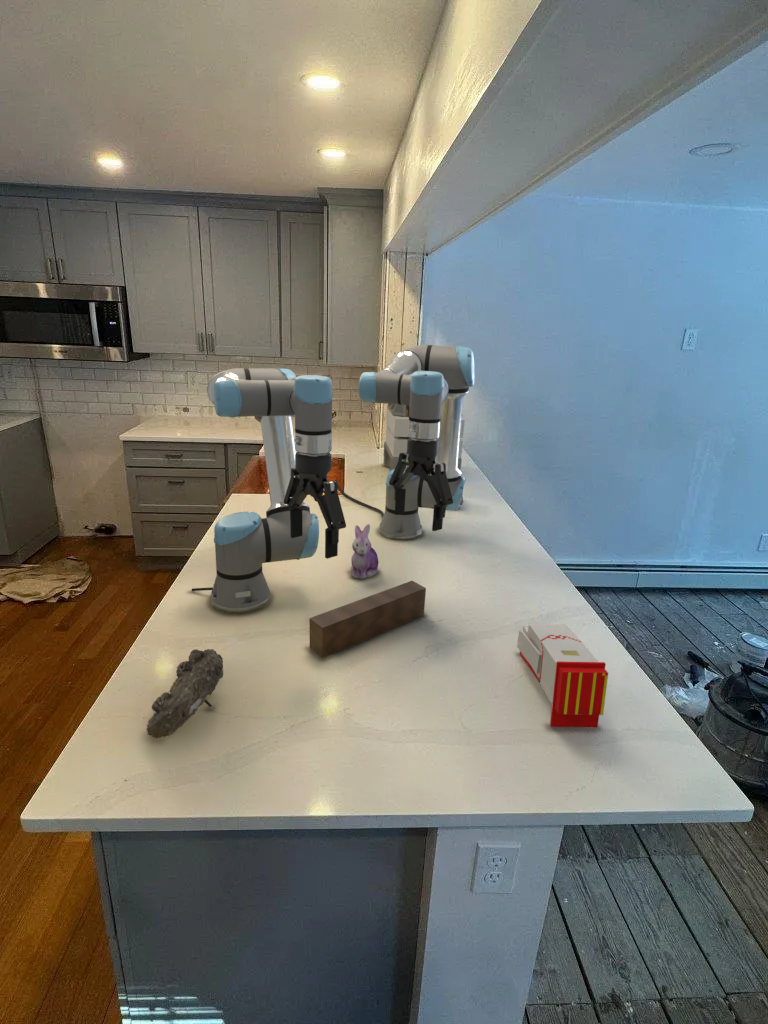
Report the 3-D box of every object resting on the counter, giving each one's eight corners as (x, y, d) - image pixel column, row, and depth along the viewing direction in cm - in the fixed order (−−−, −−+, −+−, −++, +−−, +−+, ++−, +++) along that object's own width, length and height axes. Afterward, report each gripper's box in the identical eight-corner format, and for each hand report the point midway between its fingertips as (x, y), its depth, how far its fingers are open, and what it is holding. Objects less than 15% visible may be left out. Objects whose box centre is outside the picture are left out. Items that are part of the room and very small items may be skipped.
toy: (562, 608, 134) (617, 669, 105) (557, 660, 137) (609, 734, 107) (511, 607, 134) (552, 667, 104) (507, 659, 136) (545, 733, 107)
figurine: (357, 582, 163) (358, 534, 158) (342, 568, 171) (343, 521, 166) (386, 576, 167) (388, 529, 162) (370, 563, 176) (372, 517, 171)
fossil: (175, 650, 120) (224, 619, 115) (206, 680, 123) (256, 650, 118) (122, 731, 101) (179, 697, 96) (161, 764, 104) (219, 733, 99)
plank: (322, 658, 127) (322, 627, 125) (309, 648, 131) (309, 618, 128) (423, 615, 147) (426, 587, 145) (410, 607, 151) (412, 580, 148)
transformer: (382, 463, 289) (386, 382, 275) (445, 464, 293) (451, 384, 279) (390, 482, 257) (394, 392, 243) (460, 483, 261) (468, 394, 247)
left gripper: (267, 442, 124) (269, 532, 131) (333, 468, 107) (332, 570, 114) (296, 438, 129) (297, 525, 136) (365, 463, 111) (361, 561, 118)
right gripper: (377, 430, 141) (374, 510, 149) (450, 451, 124) (443, 540, 131) (399, 427, 146) (395, 505, 153) (473, 447, 129) (465, 533, 136)
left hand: (313, 546), depth 125 cm, fingers open, 13 cm apart
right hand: (417, 521), depth 142 cm, fingers open, 13 cm apart
